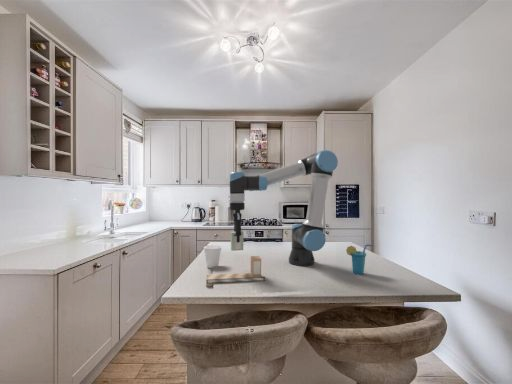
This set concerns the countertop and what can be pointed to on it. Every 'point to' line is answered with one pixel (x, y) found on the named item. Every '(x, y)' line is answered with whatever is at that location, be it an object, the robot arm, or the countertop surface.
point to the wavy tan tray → (231, 278)
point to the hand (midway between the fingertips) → (237, 247)
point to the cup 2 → (357, 259)
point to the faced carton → (255, 266)
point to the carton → (234, 241)
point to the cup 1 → (212, 255)
